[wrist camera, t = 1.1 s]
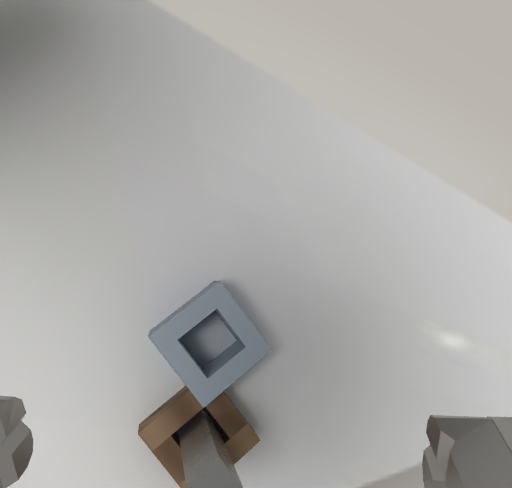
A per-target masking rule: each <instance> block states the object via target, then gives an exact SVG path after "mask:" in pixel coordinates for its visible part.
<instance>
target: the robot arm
mask: <svg viewBox="0 0 512 488" xmlns="http://www.w3.org/2000/svg"><path fill="white" fill-rule="evenodd" d="M25 414H26V411H25V408H24V405H23V401H22V400H21V399H19V398H16V397H11V396H0V488H7V487H8V486H10V485H11V484H13V483H14V482H16V481H17V480H19V478H20V477H21V475H22V474H23V472H24V471H25V470H26V468H27V466H28V464H29V461H30V458H31V455H32V452H33V437H32V433H31V430H30V429H29V428H28V427H27V426H26V425H25V424H24V423H23V422H22V419H23V418H24V416H25ZM426 433H427V436H428V439H429V441H430V444H431V445H430V446H428V447H427V448H426V449H425V450H424V454H423V464H422V466H423V482H424V487H425V488H512V417H469V416H442V415H430V417H429V420H428V423H427V430H426Z"/></svg>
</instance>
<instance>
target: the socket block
mask: <svg viewBox="0 0 512 488" xmlns="http://www.w3.org/2000/svg"><path fill="white" fill-rule="evenodd" d="M205 407H206V408H207V409H208V411H209V412H210V413H211V415H212V416H213V417H214V418H215V420H216V421H217V422H218V424H219V425H220V426H221V427H222V429H223V430H224V431H223V432H222V433H221V436H222V439H223V441H224V443H225V446H226V448H227V451H228V453H229V455H230V458H231V460H232V462H233V465H234V464H235V463H236V462H237V461H238V460H239V459H240V458H241V457H242V456H244V455H245V454H246V453H247V452H248V451H249V450H250V449H251V448H252V447H253V446H255V445H256V444H257V443H258V442H259V441H260V439H259V438H258V436H257V435H256V433H255V432H254V430H253V429H252V428H251V426H250V425H249V424H248V422H247V421H246V420H245V419H244V417H243V416H242V415H241V413H240V412H239V411H238V409H237V408H236V407H235V406H234V404H233V403H232V402H231V400H230V399H229V398H228V397H227V395H226V394H225V393H224V391H223V392H222V393H221V394H219V395H218V396H217V397H216V398H215V399H214V400H212V401H211V402H210V403H209V404H208V405H207V406H205ZM201 409H203V407H202V405H201V404H200V403H199V401H198V400H197V399H196V398H195V396H194V395H193V394H192V392H191V391H190V390H189V389H188V387H187V386H185V387H184V388H183V389H181V390H180V391H179V392H178V393H177V394H175V395H174V396H173V397H172V398H170V399H169V400H168V401H167V402H166V403H164V404H163V405H162V406H161V407H160V408H158V409H157V410H156V411H155V412H154V413H152V414H151V415H150V416H149V417H148V418H146V419H145V420H144V421H143V422H141V423H140V424H139V430H138V435H139V436H140V437H141V438H142V440H143V441H144V442H145V443H146V445H147V446H148V447H149V449H150V450H151V451H152V452H153V454H154V455H155V456H156V457H157V459H158V460H159V461H160V462H161V464H162V465H163V466H164V467H165V469H166V470H167V471H168V472H169V474H170V475H171V476H172V477H173V479H174V480H175V481H176V482H177V484H178V485H179V486H180V487H181V488H187V486H186V482H185V475H184V468H183V461H182V454H181V447H180V440H179V437H178V436H177V435H176V433H175V432H176V431H177V430H178V429H179V428H180V427H182V426H183V425H184V424H185V423H186V422H187V421H189V420H190V419H191V418H192V417H193V416H194V415H196V414H197V413H198V412H199V411H200V410H201Z"/></svg>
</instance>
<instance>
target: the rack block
mask: <svg viewBox="0 0 512 488" xmlns="http://www.w3.org/2000/svg"><path fill="white" fill-rule="evenodd" d="M213 311H215V312H216V313H217V314H218V316H219V317H220V318H221V320H222V321H223V322H224V324H225V325H226V326H227V327H228V329H229V330H230V331H231V333H232V334H233V335H234V337H235V338H236V339H237V341H236V342H235V343H233V344H232V345H231V346H230V347H229V348H227V349H226V350H225V351H224V352H223V353H221V354H220V355H219V356H218V357H217V358H215V359H214V360H213V361H212V362H210V363H209V364H208V365H207V366H206V367H204V368H203V369H202V368H201V367H200V365H199V364H198V363H197V362H196V360H195V359H194V358H193V356H192V355H191V354H190V352H189V351H188V350H187V349H186V347H185V346H184V345H183V343H182V342H181V341H180V340H179V338H180V337H182V336H183V335H184V334H186V333H187V332H188V331H189V330H191V329H192V328H193V327H194V326H196V325H197V324H198V323H199V322H201V321H202V320H203V319H204V318H206V317H207V316H208V315H210V314H211V313H212V312H213ZM149 339H150V340H151V341H152V342H153V344H154V345H155V346H156V348H157V349H158V350H159V351H160V353H161V354H162V355H163V357H164V358H165V359H166V360H167V362H168V363H169V364H170V365H171V367H172V368H173V369H174V371H175V372H176V373H177V374H178V376H179V377H180V378H181V380H182V381H183V382H184V383H185V385H186V386H187V387H188V389H189V390H190V391H191V392H192V394H193V395H194V396H195V398H196V399H197V400H198V401H199V403H200V404H201V405H202V407H203V408H204V407H205V406H207V405H208V404H209V403H210V402H211V401H212V400H214V399H215V398H216V397H217V396H218V395H219V394H221V393H222V392H223V391H224V390H225V389H227V388H228V387H229V386H230V385H231V384H232V383H234V382H235V381H236V380H237V379H238V378H239V377H241V376H242V375H243V374H244V373H245V372H246V371H248V370H249V369H250V368H251V367H252V366H254V365H255V364H256V363H257V362H258V361H259V360H261V359H262V358H263V357H264V356H265V355H266V354H268V353H269V352H270V351H271V350H272V348H271V347H270V346H269V344H268V343H267V342H266V340H265V339H264V338H263V336H262V335H261V334H260V332H259V331H258V330H257V328H256V327H255V326H254V324H253V323H252V322H251V320H250V319H249V318H248V316H247V315H246V314H245V312H244V311H243V310H242V309H241V307H240V306H239V305H238V303H237V302H236V301H235V299H234V298H233V297H232V295H231V294H230V293H229V291H228V290H227V289H226V287H225V286H224V285H223V283H222V282H221V281H214V282H213V283H211V284H210V285H209V286H207V287H206V288H205V289H204V290H202V291H201V292H200V293H198V294H197V295H196V296H195V297H193V298H192V299H191V300H189V301H188V302H187V303H185V304H184V305H183V306H182V307H180V308H179V309H178V310H176V311H175V312H174V313H172V314H171V315H170V316H169V317H167V318H166V319H165V320H163V321H162V322H161V323H160V324H158V325H157V326H156V327H154V328H153V329H152V330H150V331H149Z"/></svg>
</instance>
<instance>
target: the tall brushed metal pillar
mask: <svg viewBox="0 0 512 488" xmlns="http://www.w3.org/2000/svg"><path fill="white" fill-rule="evenodd" d="M178 433H179V440H180V447H181V454H182V461H183V468H184V475H185V482H186V486H187V488H243V486H242V484H241V482H240V479H239V477H238V474H237V472H236V470H235V467H234V465H233V462H232V460H231V458H230V455H229V453H228V451H227V448H226V446H225V443H224V441H223V439H222V436H221V434H220V431H219V429H218V428H217V426H216V425H215V424H214V422H213V421H212V420H211V419H210V417H209V416H208V415H207V413H206V412H205V411H204V410H203V409H201V410H200V411H199V412H198V413H197V414H196V415H194V416H193V417H192V418H191V419H190V420H189V421H187V422H186V423H185V424H184V425H183V426H182V427H180V428H179V429H178Z"/></svg>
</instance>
